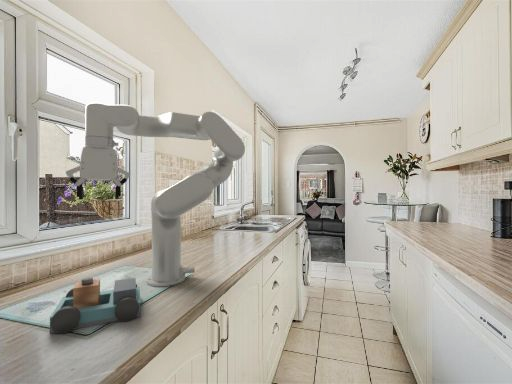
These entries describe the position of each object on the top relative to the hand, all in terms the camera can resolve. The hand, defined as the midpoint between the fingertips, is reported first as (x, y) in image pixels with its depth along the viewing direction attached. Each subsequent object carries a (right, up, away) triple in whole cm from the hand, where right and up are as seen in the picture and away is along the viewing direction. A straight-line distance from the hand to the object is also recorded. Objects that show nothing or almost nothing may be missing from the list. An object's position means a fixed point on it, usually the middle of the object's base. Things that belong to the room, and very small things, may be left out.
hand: (99, 199), depth 82 cm
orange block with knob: (+7, -27, -17) cm, 33 cm away
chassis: (+10, -28, -16) cm, 34 cm away
